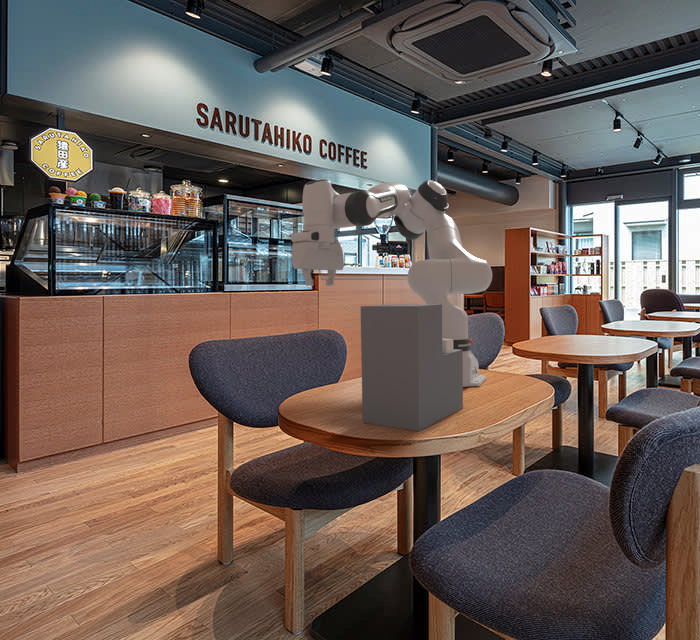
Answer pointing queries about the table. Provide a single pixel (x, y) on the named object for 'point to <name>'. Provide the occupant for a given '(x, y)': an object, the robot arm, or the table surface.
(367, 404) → the grey l-shaped step block
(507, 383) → the table surface
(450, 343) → the beige rectangular post
